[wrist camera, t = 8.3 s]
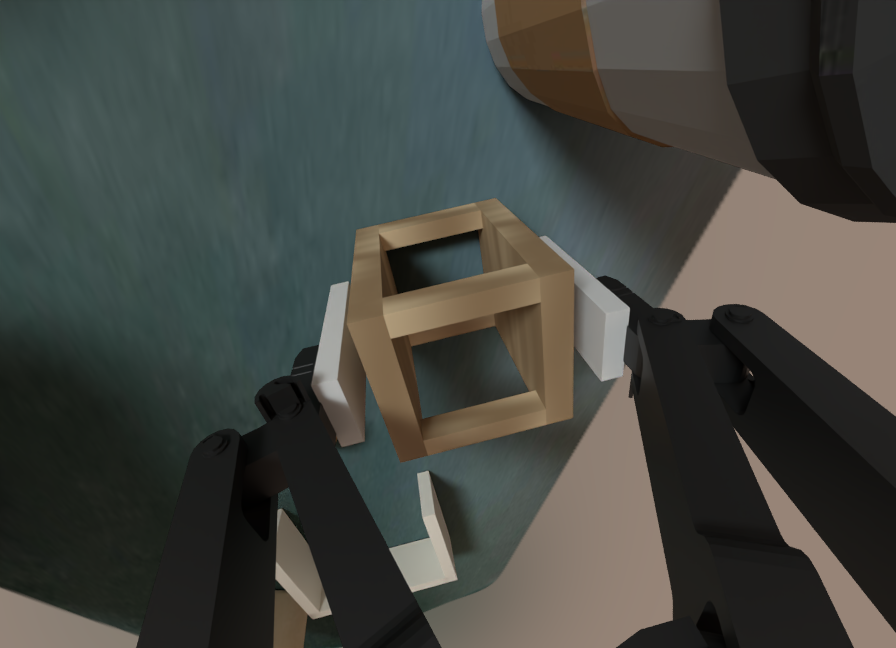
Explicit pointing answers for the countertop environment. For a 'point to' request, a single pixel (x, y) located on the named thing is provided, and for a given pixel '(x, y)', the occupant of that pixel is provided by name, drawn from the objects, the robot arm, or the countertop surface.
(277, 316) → the countertop surface
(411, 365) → the wooden cage
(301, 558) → the white u-shaped corral
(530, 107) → the countertop surface
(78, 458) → the countertop surface
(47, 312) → the countertop surface
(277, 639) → the candle
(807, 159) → the coffee cup
